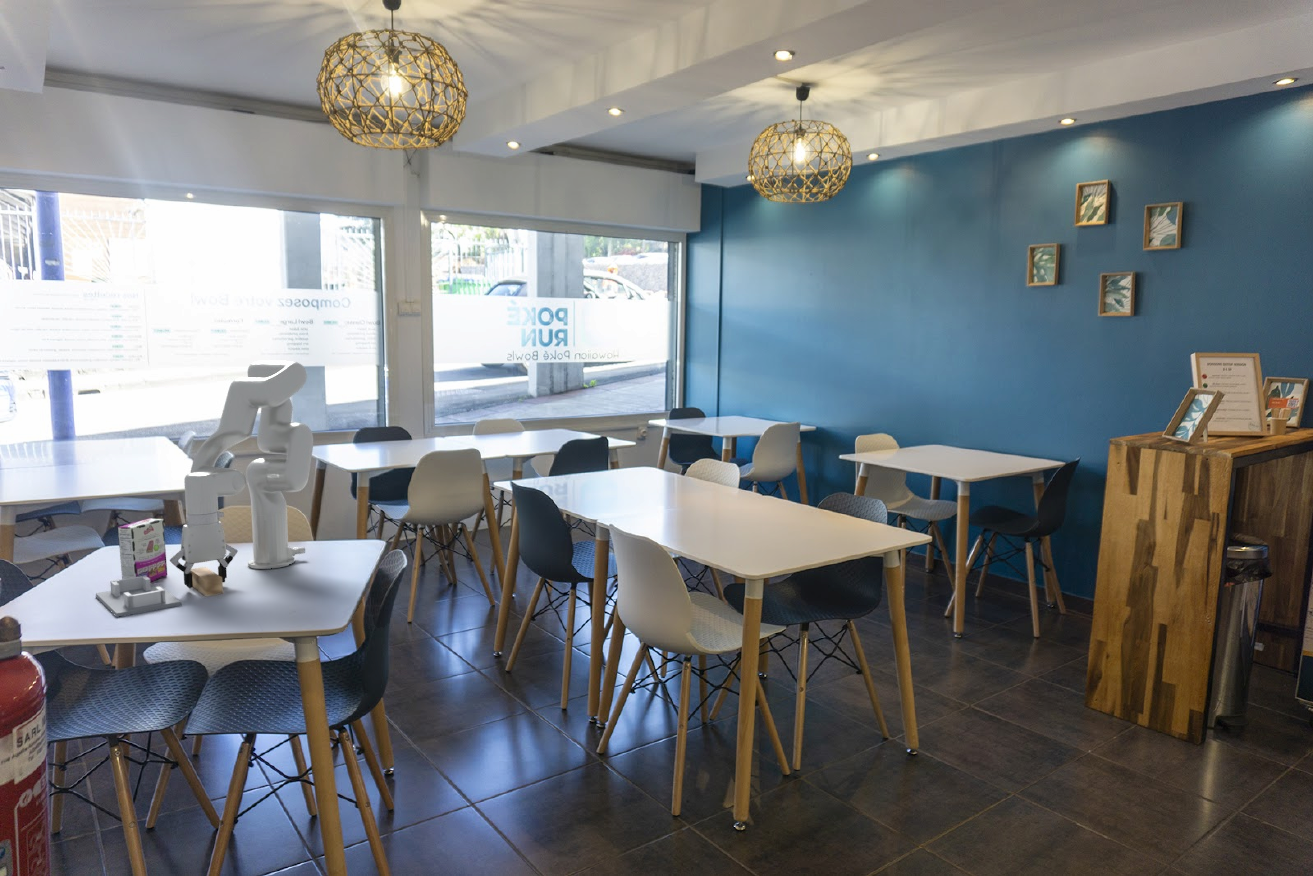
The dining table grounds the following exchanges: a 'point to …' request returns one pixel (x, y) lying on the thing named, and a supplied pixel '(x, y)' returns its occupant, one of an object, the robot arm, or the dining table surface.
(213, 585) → the oak block
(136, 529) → the candy bar box
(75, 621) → the dining table surface
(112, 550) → the dining table surface
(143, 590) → the board
